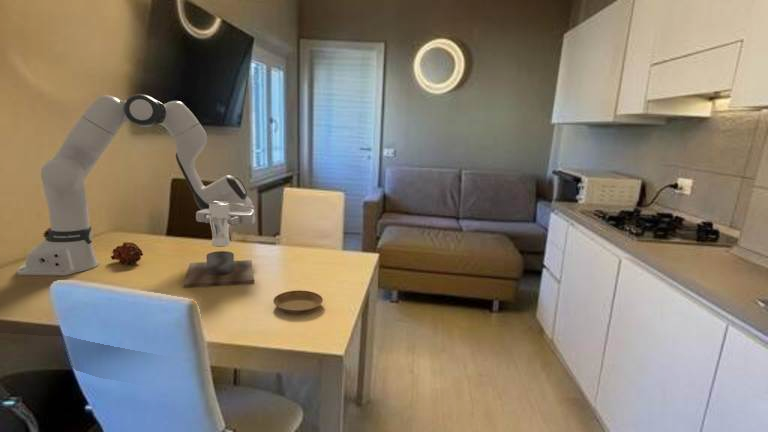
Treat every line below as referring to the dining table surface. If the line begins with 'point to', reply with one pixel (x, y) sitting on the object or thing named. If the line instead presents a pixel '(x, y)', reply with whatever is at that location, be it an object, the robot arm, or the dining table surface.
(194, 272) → the post stand
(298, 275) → the dining table surface
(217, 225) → the beer glass
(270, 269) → the dining table surface
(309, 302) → the plant saucer
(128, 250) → the brown pine cone
